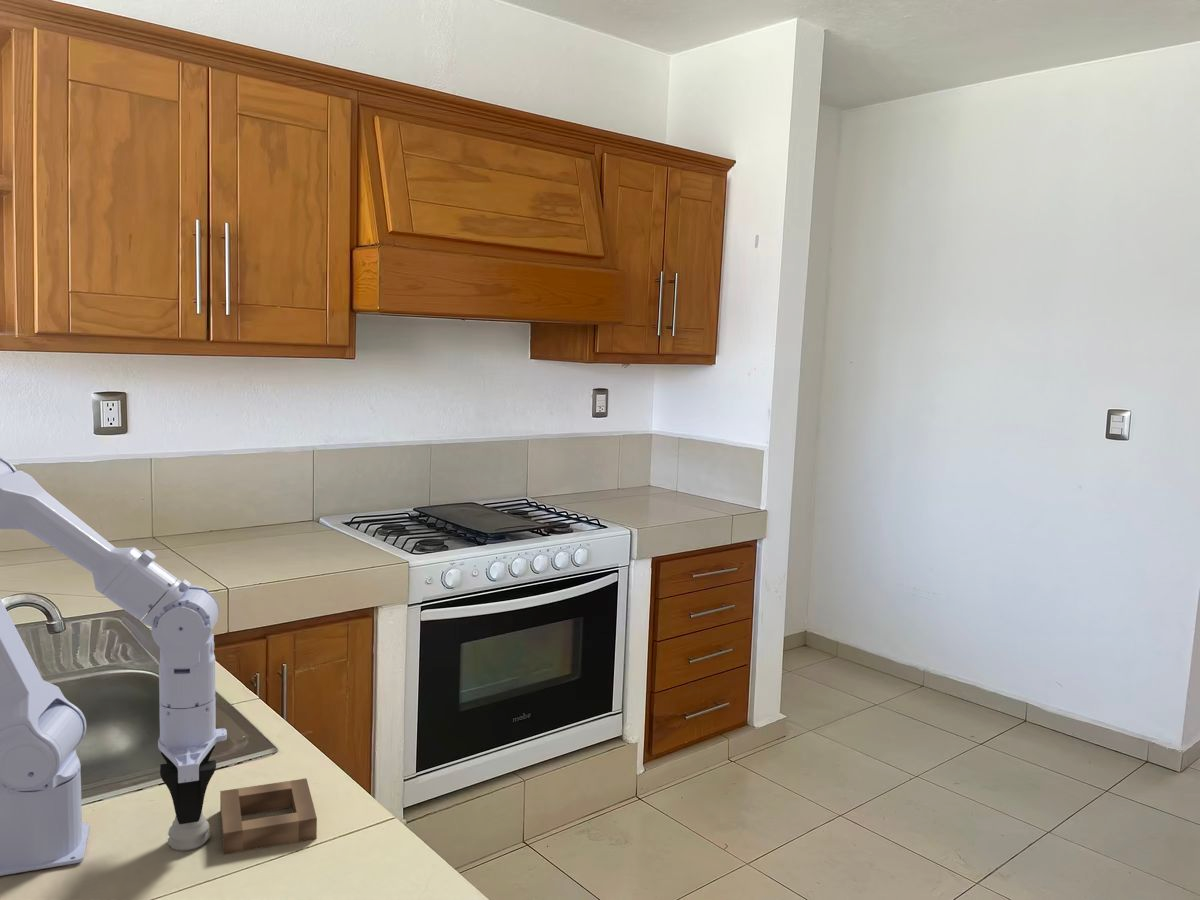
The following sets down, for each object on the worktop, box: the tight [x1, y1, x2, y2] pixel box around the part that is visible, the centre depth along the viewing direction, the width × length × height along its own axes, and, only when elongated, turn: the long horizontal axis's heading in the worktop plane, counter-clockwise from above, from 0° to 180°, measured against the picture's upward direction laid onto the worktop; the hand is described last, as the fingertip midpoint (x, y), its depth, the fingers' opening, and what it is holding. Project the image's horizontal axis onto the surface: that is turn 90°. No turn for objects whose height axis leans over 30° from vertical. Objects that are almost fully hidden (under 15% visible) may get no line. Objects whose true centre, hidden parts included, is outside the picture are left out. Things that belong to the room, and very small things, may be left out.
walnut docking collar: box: [219, 778, 318, 855], centre depth 109 cm, size 10×10×2 cm
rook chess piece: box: [167, 811, 211, 852], centre depth 105 cm, size 4×4×8 cm
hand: (188, 813), depth 105 cm, fingers closed on rook chess piece, 3 cm apart
